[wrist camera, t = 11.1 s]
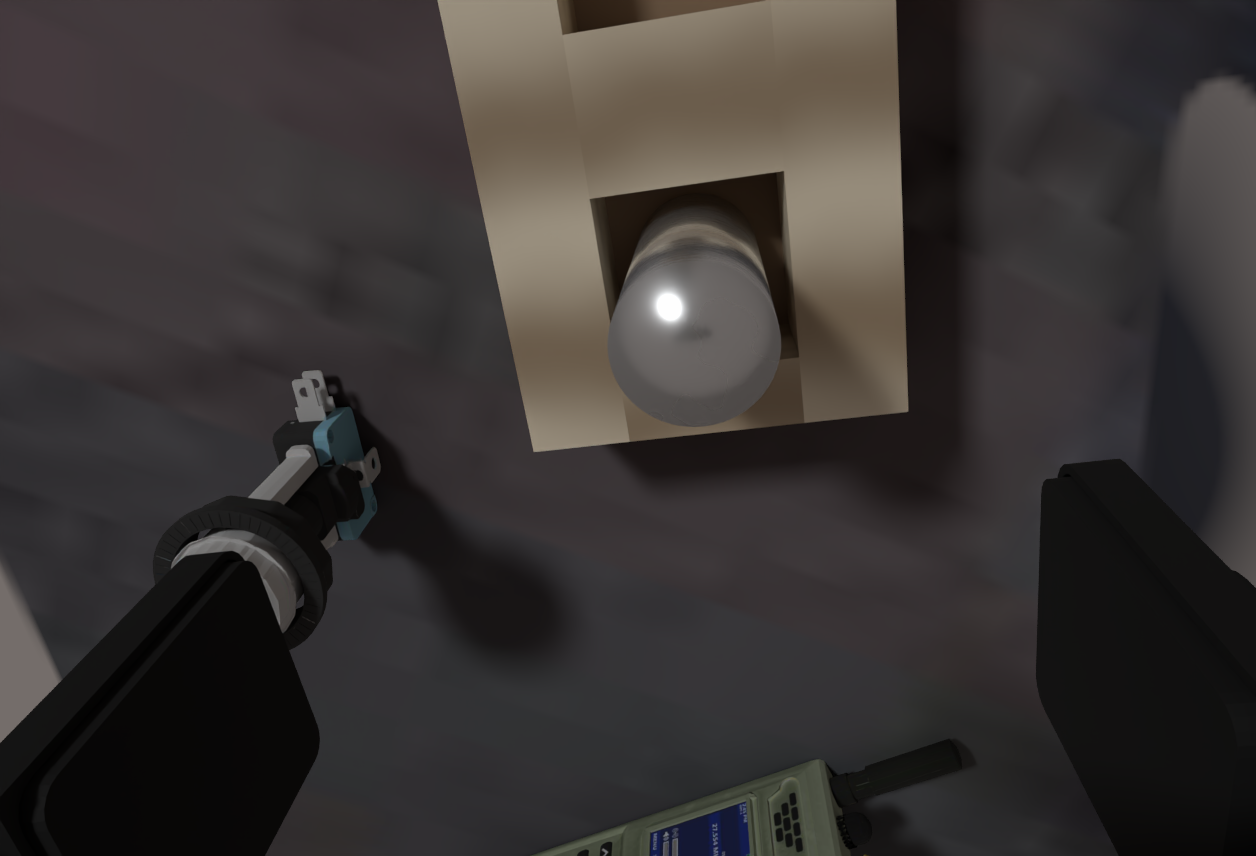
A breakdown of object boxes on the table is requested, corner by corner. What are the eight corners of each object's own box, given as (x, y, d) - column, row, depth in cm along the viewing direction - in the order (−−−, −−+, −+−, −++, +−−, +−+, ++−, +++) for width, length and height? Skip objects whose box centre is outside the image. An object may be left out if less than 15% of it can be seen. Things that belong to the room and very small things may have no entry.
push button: (253, 371, 34) (92, 492, 25) (386, 359, 34) (269, 479, 25) (299, 521, 37) (167, 680, 28) (422, 513, 36) (329, 672, 27)
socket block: (432, -235, 26) (374, -293, 21) (849, -325, 24) (883, -407, 20) (556, 395, 34) (534, 452, 29) (878, 358, 32) (908, 411, 28)
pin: (628, 202, 29) (594, 274, 20) (751, 184, 29) (772, 249, 19) (647, 319, 31) (621, 435, 22) (763, 304, 30) (788, 416, 21)
